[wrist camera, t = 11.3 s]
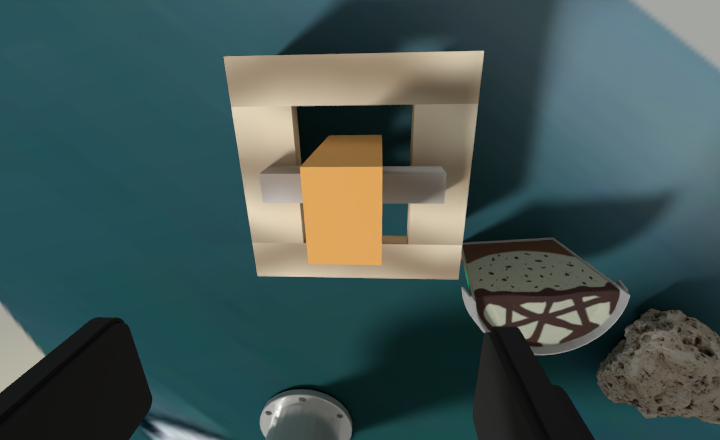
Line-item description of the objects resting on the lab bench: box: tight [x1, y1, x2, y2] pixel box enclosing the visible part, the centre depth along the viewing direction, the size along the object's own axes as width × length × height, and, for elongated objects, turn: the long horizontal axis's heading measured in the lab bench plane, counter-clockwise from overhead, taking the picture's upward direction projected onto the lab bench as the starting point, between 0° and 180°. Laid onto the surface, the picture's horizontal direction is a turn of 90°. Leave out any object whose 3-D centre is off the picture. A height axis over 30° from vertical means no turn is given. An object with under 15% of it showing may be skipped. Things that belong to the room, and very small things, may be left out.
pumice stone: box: [597, 309, 720, 424], centre depth 35 cm, size 14×12×8 cm
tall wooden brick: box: [300, 135, 382, 265], centre depth 22 cm, size 5×4×10 cm
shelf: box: [224, 51, 484, 279], centre depth 27 cm, size 16×16×11 cm
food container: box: [461, 238, 631, 355], centre depth 31 cm, size 12×6×10 cm, turn 95°
